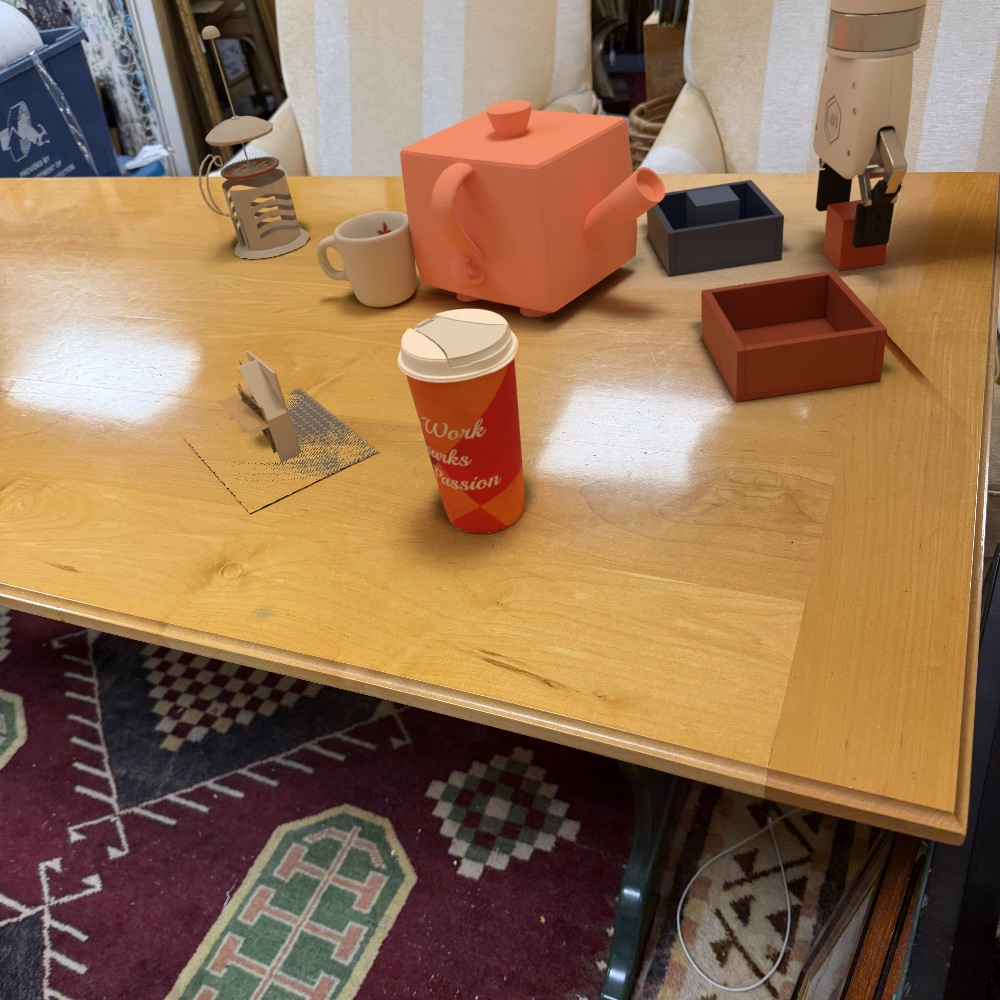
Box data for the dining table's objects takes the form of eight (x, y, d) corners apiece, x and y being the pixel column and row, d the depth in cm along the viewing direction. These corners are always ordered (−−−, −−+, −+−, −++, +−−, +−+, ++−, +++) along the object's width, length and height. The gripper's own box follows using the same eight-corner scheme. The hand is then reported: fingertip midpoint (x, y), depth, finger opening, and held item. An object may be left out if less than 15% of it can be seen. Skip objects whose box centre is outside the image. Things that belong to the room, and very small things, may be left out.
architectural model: (264, 471, 73) (235, 390, 68) (232, 438, 78) (203, 361, 73) (302, 453, 74) (276, 373, 70) (268, 422, 79) (242, 345, 74)
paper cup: (411, 516, 65) (368, 342, 57) (487, 465, 69) (458, 295, 61) (485, 560, 60) (451, 376, 52) (563, 502, 64) (543, 322, 56)
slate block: (727, 231, 97) (728, 185, 94) (738, 247, 94) (739, 199, 91) (686, 238, 98) (686, 191, 95) (696, 253, 94) (695, 206, 91)
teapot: (722, 266, 92) (725, 77, 81) (595, 366, 79) (579, 158, 68) (528, 233, 106) (509, 69, 95) (394, 313, 93) (354, 134, 83)
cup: (315, 315, 96) (295, 242, 91) (343, 283, 102) (325, 213, 97) (411, 314, 93) (395, 238, 88) (434, 280, 99) (420, 208, 94)
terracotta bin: (829, 318, 80) (834, 270, 78) (880, 380, 71) (887, 329, 69) (701, 337, 81) (701, 290, 78) (735, 402, 72) (737, 351, 69)
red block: (867, 247, 91) (872, 197, 88) (884, 264, 87) (891, 213, 84) (823, 253, 91) (827, 204, 88) (838, 270, 88) (843, 220, 85)
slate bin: (749, 220, 100) (751, 179, 98) (781, 259, 91) (784, 215, 89) (647, 235, 101) (646, 195, 98) (669, 276, 92) (668, 233, 89)
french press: (326, 236, 114) (269, 16, 100) (250, 271, 108) (177, 42, 93) (281, 224, 120) (222, 15, 106) (207, 256, 114) (132, 39, 99)
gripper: (797, 18, 84) (783, 201, 94) (869, 56, 70) (843, 266, 80) (878, 7, 84) (855, 192, 94) (966, 43, 70) (928, 255, 80)
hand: (850, 226), depth 87 cm, fingers open, 9 cm apart
